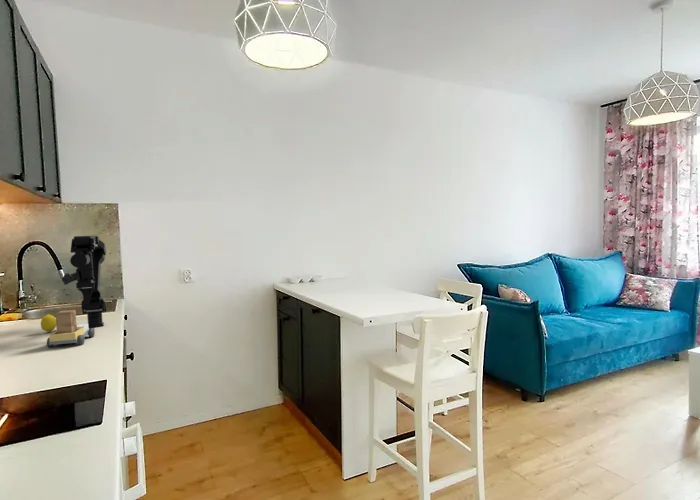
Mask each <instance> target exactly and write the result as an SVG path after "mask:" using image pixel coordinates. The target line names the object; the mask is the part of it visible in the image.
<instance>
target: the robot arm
mask: <svg viewBox="0 0 700 500" xmlns="http://www.w3.org/2000/svg"><path fill="white" fill-rule="evenodd" d="M70 245H71V246H70V253H71V254H72V253H73V255H72V256H71V257H70V265H72V266H73V267H74V268H76V270H75V271H74V272H72V273H65V274H63V276H62V277H61V278H60V279H61V281H62V283H63V285H64V286H65V285H69V284H70V283H72V282H75V281H76V284H75V287H76V290H78V291H79V292H80V293H81V294H82V300H81V302H80V303H81V304H80V305H81V311H82V315H85V314H86V315H87V318H86V319H87V324H88V326H89V328H97V327H104V326H105V324H104V322H103V313H105V312H107V311H108V310H107V305H106V304H107V303H106V301H105V299H104V298H103V295H102V294H101V292H100V286H101V284H100V282H101V281H100V280H101V265H102V263H103V262H104V261H105V258H106V256H107V247H106V244H105V243H104V242H103V241H102V240H101V239H100V237H99V236H98V235H74V236H73V238H72V239H71V243H70Z"/></svg>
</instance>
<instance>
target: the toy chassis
mask: <svg viewBox="0 0 700 500" xmlns="http://www.w3.org/2000/svg"><path fill="white" fill-rule="evenodd" d="M95 333H96V332H95V327H90V328H89V326H88V323H80V324H78V323H77V331H75V332H74V333H62V334H57V330H56V331H54V332H52V333H50V334H49V335H48V336H49V337H48V338H47V339H46V347H48V348H53V347H54V346H55V345H63V344H77V345H80V346H81V345H84V344H85V341H86V340H85V337H87V336H88V338H94V337H95V335H96V334H95Z"/></svg>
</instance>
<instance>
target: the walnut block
mask: <svg viewBox="0 0 700 500" xmlns="http://www.w3.org/2000/svg"><path fill="white" fill-rule="evenodd" d="M55 319H56V327H55V328H56V331H57V334H62V333H74V332H75V331H77V324H78V323H77V312H76V309H71V310H60V311H58V312H56V313H55Z"/></svg>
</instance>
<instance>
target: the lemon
mask: <svg viewBox="0 0 700 500" xmlns="http://www.w3.org/2000/svg"><path fill="white" fill-rule="evenodd" d="M40 327H41V329H42V330H43V331H44V332H47V333H50V334H51V332H53V331H54V330H55V329H56V328H57V327H56V316H54V315H52V314H49V313H48V314H47V313H46V315H44V316H43V317H41V321H40Z"/></svg>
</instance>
